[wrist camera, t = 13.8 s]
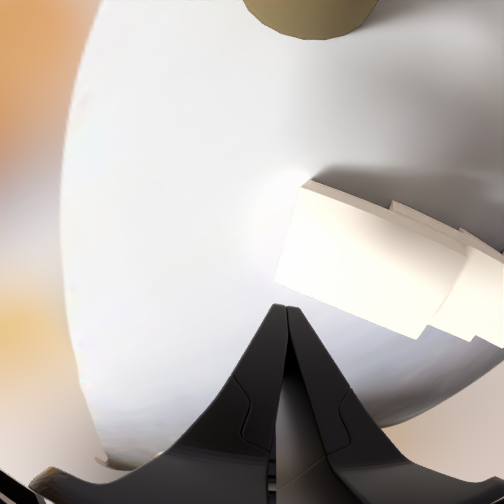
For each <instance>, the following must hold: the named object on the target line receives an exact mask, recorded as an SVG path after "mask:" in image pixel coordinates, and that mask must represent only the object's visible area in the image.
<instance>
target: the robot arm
mask: <svg viewBox="0 0 504 504" xmlns="http://www.w3.org/2000/svg"><path fill="white" fill-rule="evenodd" d="M28 487H29V488H28ZM28 487H26V486H25V485H23V484H22V483H20V482H19V481H17V480H16V479H14V478H13V477H11V476H10V475H9V474H7V473H6V472H4V471H3V470H2V469H0V504H46V502H45V501H44V498H45V499H46V500H48V501H50V502H52V503H53V504H504V498H502V497H504V480H503V479H500V478H498V477H496V476H494V477H491V478H489V479H487V480H485V481H483V482H477V483H473V482H466V481H463V480H459V479H456V478H453V477H450V476H447V475H445V474H442V473H439V472H436V471H433V470H431V469H428V468H425V467H423V466H420V465H417V464H415V463H414V462H412V461H410V460H409V459H407V458H406V457H405V456H404V455H403V454H401V452H400V451H399V450H398V449H397V448H396V447H395V445H394V444H393V443H392V442H391V441H390V439H389V438H388V437H387V436H386V434H385V433H384V432H383V431H382V429H381V428H380V427H379V426H378V425H377V423H376V422H375V421H374V419H373V418H372V417H371V416H370V414H369V413H368V412H367V410H366V409H365V408H364V406H363V405H362V403H361V402H360V400H359V399H358V397H357V396H356V394H355V393H354V391H353V389H352V388H350V385H349V383H348V382H347V380H346V379H345V377H344V376H343V374H342V373H341V371H340V369H339V368H338V366H337V365H336V363H335V362H334V360H333V359H332V357H331V355H330V354H329V352H328V351H327V349H326V348H325V346H324V345H323V343H322V342H321V340H320V339H319V337H318V335H317V334H316V332H315V331H314V329H313V328H312V326H311V325H310V323H309V322H308V320H307V319H306V317H305V315H304V314H303V312H302V311H301V309H300V308H298V307H293V306H285V305H281V304H272V306H271V308H270V309H269V311H268V313H267V315H266V316H265V318H264V320H263V322H262V323H261V325H260V327H259V328H258V330H257V332H256V334H255V335H254V337H253V339H252V340H251V342H250V344H249V345H248V347H247V349H246V350H245V352H244V354H243V355H242V357H241V359H240V360H239V362H238V364H237V365H236V367H235V369H234V370H233V372H232V373H231V376H229V378H228V380H227V381H226V383H225V385H224V386H223V387H222V389H221V390H220V392H219V393H218V395H217V396H216V398H215V399H214V400H213V401H212V402H211V404H210V405H209V406H208V407H207V409H206V410H205V411H204V412H203V413H202V414H201V415H200V416H199V418H198V419H197V420H196V421H195V422H194V423H193V424H192V425H191V426H190V427H189V428H188V429H187V431H186V432H185V433H184V434H183V435H182V436H181V437H180V438H179V439H178V440H177V441H176V442H175V443H174V444H173V445H172V446H171V447H169V448H168V449H167V450H166V451H165V452H163V453H162V454H160V455H159V456H157V457H155V458H154V459H152V460H150V461H149V462H147V463H145V464H144V465H142V466H140V467H138V468H137V469H135V470H133V471H131V472H129V473H127V474H126V475H124V476H122V477H120V478H118V479H116V480H114V481H111V482H109V483H102V484H96V483H90V482H87V481H84V480H82V479H80V478H77V477H75V476H73V475H71V474H69V473H67V472H65V471H63V470H60V469H58V468H55V467H49V468H47V469H46V470H45V471H43V472H42V473H40V474H39V475H37V476H36V477H35V478H34V479H33V480H32V481H31V482H30V484H29V486H28ZM500 498H502V499H500ZM499 499H500V500H499ZM497 500H498V501H497ZM495 501H496V502H495ZM493 502H494V503H493Z"/></svg>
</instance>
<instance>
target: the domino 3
mask: <svg viewBox="0 0 504 504" xmlns="http://www.w3.org/2000/svg"><path fill="white" fill-rule="evenodd" d="M458 231H459V232H461V233H463V234H465V235H467V236H469V237H471V238H473V239H474V240H476V241H478V242H480V243H482V244H484V245H485V246H487V247H489V248H491V249H492V250H494V251H496V250H495V249H493V248H492V247H490V246H489V245H487V244H486V243H484V242H483V241H481V240H480V239H478V238H476V237H475V236H473V235H472V234H470V233H469V232H467V231H465V230H464V229H462V228H461V227H460V228H459V230H458ZM496 252H498V251H496ZM498 253H499V252H498ZM499 254H500V253H499ZM501 255H502V254H501ZM476 335H477V336H479V337H481V338H483V339H485V340H487V341H489V342H491V343H492V344H494V345H496V346H498V347H500V348H502V349H503V348H504V295H503V297H502V298H501V300H500V301H499V303H498V304H497V306H496V307H495V309H494V310H493V311H492V313H491V314H490V316H489V317H488V319H487V320H486V321H485V323H484V324H483V325H482V327H481V328H480V329H479V331H478V332H477V333H476Z"/></svg>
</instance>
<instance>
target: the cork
mask: <svg viewBox="0 0 504 504" xmlns="http://www.w3.org/2000/svg"><path fill="white" fill-rule="evenodd" d="M243 1H244V3H245V5H246V7H247V9H248V10H249V11H250V12H251V13H252V14H253V15H254V16H255V17H256V18H257V19H258V20H259V21H260V22H261V23H262V24H264V25H266V26H268V27H270V28H272V29H274V30H275V31H277V32H279V33H281V34H284V35H288V36H292V37H296V38H299V39H303V40H327V39H331V38H335V37H340V36H344V35H346V34H348V33H349V32H351V31H353V30H354V29H356V28H358V27H359V26H361V24H362V23H363V22H364V20H365V19H366V18H367V17H368V15H369V14H370V13H371V11H372V10H373V8H374V7H375V5H376V4H377V2H378V1H379V0H243Z"/></svg>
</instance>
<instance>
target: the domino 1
mask: <svg viewBox="0 0 504 504" xmlns="http://www.w3.org/2000/svg"><path fill="white" fill-rule="evenodd" d="M467 258H468V257H467V255H466V253H465V251H464V249H463V247H462V245H461V243H460V242H458V241H456V240H454V239H452V238H450V237H448V236H446V235H443V234H441V233H439V232H437V231H435V230H433V229H431V228H429V227H426V226H424V225H422V224H420V223H418V222H415V221H413V220H411V219H409V218H406V217H404V216H402V215H400V214H397V213H395V212H393V211H390V210H388V209H385V208H383V207H381V206H378V205H376V204H373V203H371V202H368V201H366V200H363V199H361V198H358V197H356V196H353V195H350V194H348V193H345V192H342V191H340V190H337V189H334V188H332V187H329V186H326V185H323V184H321V183H318V182H315V181H312V180H308V181H307V182H306V183H305V184H304V185H302V186H301V187H300V190H299V194H298V198H297V201H296V205H295V209H294V212H293V216H292V220H291V223H290V227H289V230H288V234H287V237H286V241H285V244H284V248H283V251H282V255H281V258H280V262H279V265H278V268H277V272H276V275H275V279H274V281H275V282H277V283H279V284H282V285H284V286H286V287H289V288H291V289H293V290H296V291H298V292H301V293H303V294H305V295H308V296H310V297H312V298H315V299H317V300H320V301H322V302H324V303H327V304H329V305H332V306H334V307H336V308H339V309H341V310H344V311H346V312H349V313H351V314H353V315H356V316H358V317H361V318H363V319H366V320H368V321H371V322H373V323H375V324H378V325H380V326H383V327H385V328H388V329H390V330H393V331H395V332H398V333H400V334H403V335H405V336H408V337H410V338H413V339H415V340H416V339H417V338H418V337H419V335H420V334H421V333H422V331H423V330H424V328H425V327H426V325H427V324H428V323H429V321H430V320H431V318H432V317H433V315H434V314H435V312H436V311H437V309H438V308H439V306H440V305H441V303H442V301H443V300H444V298H445V297H446V295H447V293H448V292H449V290H450V288H451V287H452V285H453V283H454V282H455V280H456V278H457V277H458V275H459V273H460V271H461V269H462V268H463V266H464V264H465V262H466V260H467Z"/></svg>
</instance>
